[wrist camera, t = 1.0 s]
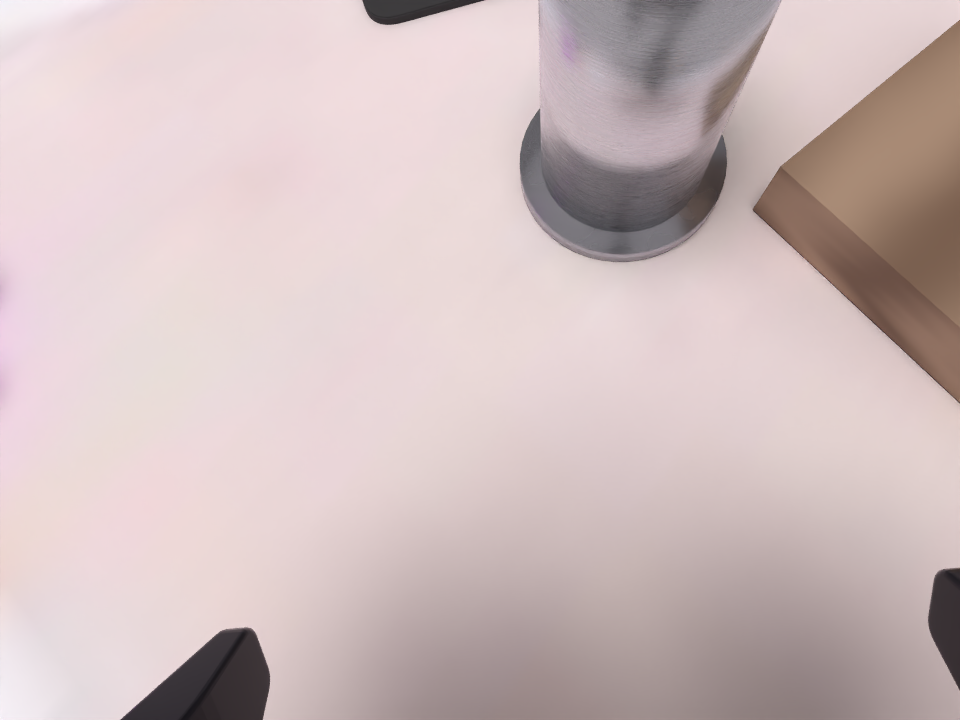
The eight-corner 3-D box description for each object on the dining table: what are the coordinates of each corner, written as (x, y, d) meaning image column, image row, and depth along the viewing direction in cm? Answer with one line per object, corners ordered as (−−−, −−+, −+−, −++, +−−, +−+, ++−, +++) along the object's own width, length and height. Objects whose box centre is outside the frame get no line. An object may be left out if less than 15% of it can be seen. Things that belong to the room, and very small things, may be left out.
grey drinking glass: (764, 176, 25) (989, -189, 12) (611, 301, 24) (682, 54, 12) (626, 50, 27) (698, -375, 14) (481, 163, 26) (420, -177, 13)
